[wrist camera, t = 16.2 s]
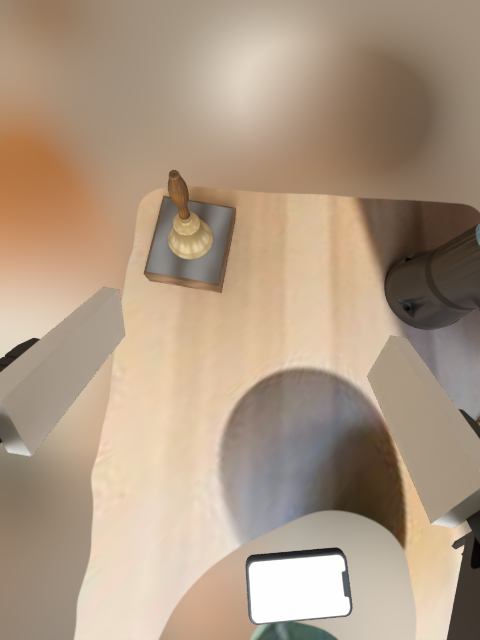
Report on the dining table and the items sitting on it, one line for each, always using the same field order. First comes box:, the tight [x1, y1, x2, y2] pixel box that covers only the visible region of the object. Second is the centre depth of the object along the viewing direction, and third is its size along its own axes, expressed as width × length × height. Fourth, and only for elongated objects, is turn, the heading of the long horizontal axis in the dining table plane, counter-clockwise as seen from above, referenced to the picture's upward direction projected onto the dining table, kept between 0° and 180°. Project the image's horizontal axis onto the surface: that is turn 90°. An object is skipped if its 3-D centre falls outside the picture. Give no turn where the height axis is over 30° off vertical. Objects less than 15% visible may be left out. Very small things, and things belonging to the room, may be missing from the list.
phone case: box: [246, 548, 352, 625], centre depth 41 cm, size 9×2×16 cm
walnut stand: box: [144, 196, 236, 293], centre depth 50 cm, size 14×16×4 cm
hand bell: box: [168, 170, 213, 260], centre depth 40 cm, size 8×8×16 cm
